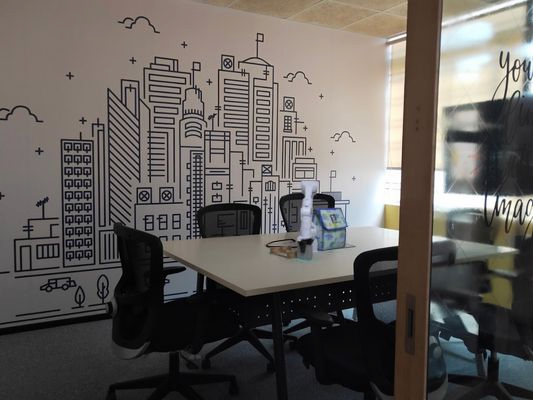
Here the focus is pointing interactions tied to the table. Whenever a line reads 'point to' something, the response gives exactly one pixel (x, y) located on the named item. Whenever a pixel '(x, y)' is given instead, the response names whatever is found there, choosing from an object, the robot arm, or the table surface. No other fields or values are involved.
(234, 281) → the table surface
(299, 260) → the teal mat
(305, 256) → the gray rectangular block
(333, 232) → the lunch bag
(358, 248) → the table surface
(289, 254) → the walnut rack
